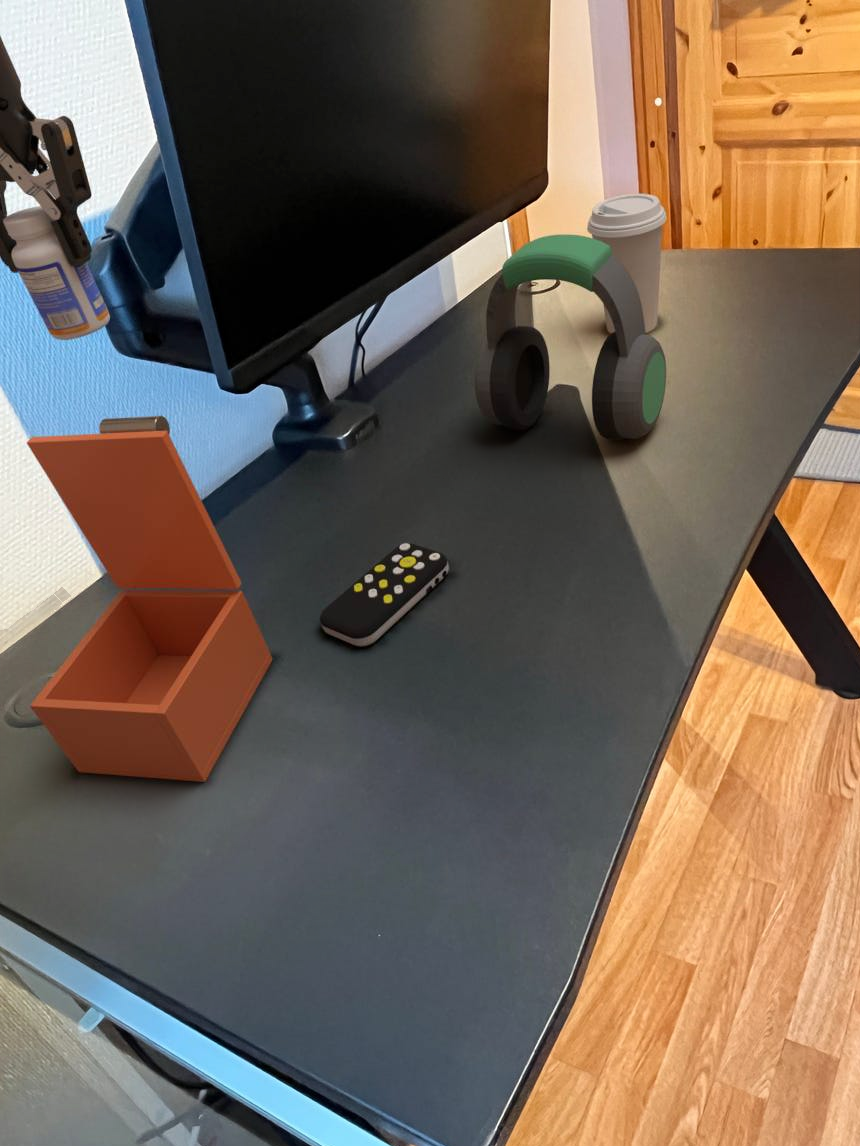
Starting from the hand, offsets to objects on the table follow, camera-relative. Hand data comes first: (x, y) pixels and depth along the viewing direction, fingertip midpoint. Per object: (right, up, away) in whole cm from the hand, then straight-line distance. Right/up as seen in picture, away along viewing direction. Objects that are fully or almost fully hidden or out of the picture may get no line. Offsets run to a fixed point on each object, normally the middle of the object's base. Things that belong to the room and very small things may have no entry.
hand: (51, 265), depth 74 cm
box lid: (+10, -23, -7) cm, 26 cm away
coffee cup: (+56, +9, +41) cm, 70 cm away
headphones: (+47, -8, +23) cm, 53 cm away
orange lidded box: (+11, -38, -1) cm, 40 cm away
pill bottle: (+1, -4, +4) cm, 6 cm away
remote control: (+28, -28, +6) cm, 40 cm away
